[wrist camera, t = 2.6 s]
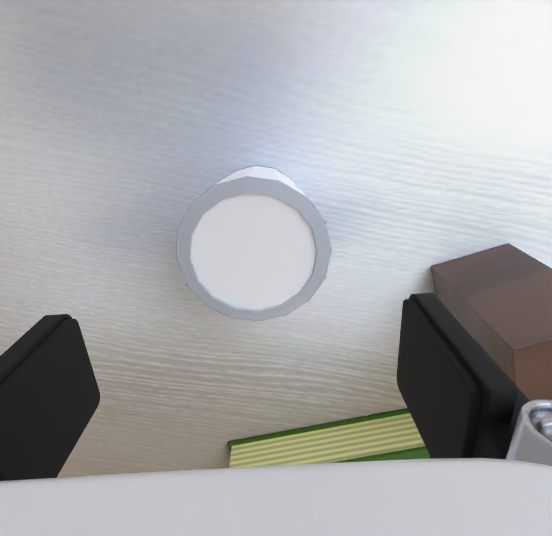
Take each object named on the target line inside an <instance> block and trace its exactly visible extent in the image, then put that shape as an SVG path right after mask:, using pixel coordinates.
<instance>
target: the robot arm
mask: <svg viewBox="0 0 552 536" xmlns="http://www.w3.org/2000/svg"><path fill="white" fill-rule="evenodd" d="M397 383H398V387H399V390H400V392H401V394H402V397H403V399H404V401H405V403H406V405H407V407H408V410H409V412H410V414H411V416H412V418H413V420H414V423H415V425H416V427H417V429H418V431H419V433H420V436H421V438H422V440H423V442H424V444H425V446H426V449H427V451H428V453H429V455H430V457H431V459H407V460H384V461H362V462H342V463H321V464H300V465H279V466H258V467H239V468H221V469H202V470H183V471H165V472H147V473H129V474H112V475H95V476H78V477H62V478H56V477H57V476H58V474H59V472H60V470H61V469H62V467H63V465H64V463H65V462H66V460H67V458H68V457H69V455H70V453H71V451H72V450H73V448H74V446H75V445H76V443H77V441H78V439H79V438H80V436H81V434H82V433H83V431H84V429H85V427H86V426H87V424H88V422H89V421H90V419H91V417H92V415H93V414H94V412H95V410H96V409H97V407H98V405H99V401H100V392H99V389H98V385H97V382H96V379H95V376H94V372H93V369H92V366H91V363H90V359H89V356H88V353H87V350H86V346H85V343H84V340H83V337H82V333H81V330H80V327H79V324H78V321H77V320H76V319H72V317H71V316H70V315H68V314H61V315H46V316H44V317H43V318H42V319H41V320H40V321H38V322H37V323H36V324H35V325H34V326H33V327H32V328H31V329H30V330H29V331H27V332H26V333H25V334H24V335H23V336H22V337H21V338H20V339H19V340H18V341H16V342H15V343H14V344H13V345H12V346H11V347H10V348H9V349H8V350H7V351H5V352H4V353H3V354H2V355H1V356H0V536H552V400H534V401H530V400H529V399H528V398H527V397H526V396H525V395H524V394H523V393H522V391H521V390H520V389H519V388H518V387H517V386H516V385H515V384H514V383H513V381H512V380H511V379H510V378H509V377H508V376H507V375H506V374H505V372H504V371H503V370H502V369H501V368H500V367H499V366H498V365H497V363H496V362H495V361H494V360H493V359H492V358H491V357H490V356H489V354H488V353H487V352H486V351H485V350H484V349H483V348H482V347H481V346H480V344H479V343H478V342H477V341H476V340H475V339H474V338H473V337H472V336H471V335H470V334H469V333H468V332H467V331H466V330H465V328H464V327H463V326H462V325H461V324H460V323H459V322H458V321H457V319H456V318H455V317H454V316H453V315H452V314H451V313H450V312H449V310H448V309H447V308H446V307H445V306H444V305H443V304H442V303H441V301H440V300H439V299H438V298H437V297H436V296H435V295H434V294H433V293H422V294H411V295H410V298H409V299H405V300H404V302H403V309H402V320H401V332H400V344H399V356H398V368H397Z"/></svg>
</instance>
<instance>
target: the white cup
mask: <svg viewBox="0 0 552 536" xmlns="http://www.w3.org/2000/svg"><path fill="white" fill-rule="evenodd" d="M330 255H331V246H330V241H329V237H328V232H327V227H326V222H325V221H324V219H323V218H322V217H321V215H320V214H319V212H318V211H317V210H316V208H315V207H314V206H313V204H312V203H311V201H310V200H309V199H308V197H307V196H306V195H305V194H304V193H303V192H302V191H301V190H300V189H299V188H298V187H297V186H296V184H295V183H294V182H293V181H292V180H291V179H290V178H288V177H287V176H285V175H283V174H282V173H280V172H278V171H277V170H275V169H273V168H266V167H259V166H252V167H249V168H245V169H241V170H237V171H235V172H234V173H232V174H231V175H229V176H228V177H226V178H225V179H223V180H222V181H220V182H218V183H217V184H215V185H214V186H213V187H212V188H210V189H209V190H208V191H207V192H205V193H204V194H203V195H202V196H200V197H199V198H198V199H197V200H195V201H194V202H193V203H191V205H190V207H189V209H188V211H187V213H186V215H185V217H184V219H183V221H182V222H181V224H180V226H179V228H178V230H177V255H176V260H177V262H178V265H179V267H180V270H181V272H182V275H183V277H184V280H185V282H186V285H187V286H188V287H189V288H190V289H191V290H192V291H193V292H194V294H195V295H196V296H197V297H198V298H199V299H200V300H201V301H202V302H203V303H204V304H205V305H206V306H208V307H210V308H212V309H214V310H216V311H218V312H220V313H222V314H224V315H226V316H228V317H230V318H235V319H244V320H252V321H263V320H267V319H272V318H276V317H280V316H285V315H288V314H289V313H291V312H292V311H294V310H295V309H297V308H298V307H300V306H301V305H303V304H304V303H306V302H307V301H309V300H310V299H311V297H312V296H313V295H314V293H315V292H316V290H317V289H318V288H319V286H320V285H321V283H322V282H323V281H324V279H325V278H326V273H327V269H328V264H329V259H330Z"/></svg>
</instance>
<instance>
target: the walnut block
mask: <svg viewBox="0 0 552 536" xmlns="http://www.w3.org/2000/svg"><path fill="white" fill-rule="evenodd" d="M431 270H432V275H433V281H434V287H435V292H436V297H437V298H438V299H439V300H440V301H441V303H442V304H443V305H444V306H445V307H446V308H447V309H448V310H449V312H450V313H451V314H452V315H453V316H454V317H455V318H456V319H457V321H458V322H459V323H460V324H461V325H462V326H463V327H464V328H465V330H466V331H467V332H468V333H469V334H470V335H471V336H472V337H473V338H474V339H475V340H476V341H477V342H478V343H479V344H480V346H481V347H482V348H483V349H484V350H485V351H486V352H487V353H488V354H489V356H490V357H491V358H492V359H493V360H494V361H495V362H496V363H497V365H498V366H499V367H500V368H501V369H502V370H503V371H504V372H505V374H506V375H507V376H508V377H509V378H510V379H511V380H512V381H513V383H514V384H515V385H516V386H517V387H518V388H519V389H520V390H521V391H522V393H523V394H524V395H525V396H526V397H527V398H528V399H529V400H530V401H534V400H552V269H551V268H550V267H548V266H546V265H545V264H543V263H541V262H539V261H538V260H536V259H534V258H533V257H531V256H529V255H528V254H526V253H524V252H522V251H521V250H519V249H517V248H516V247H514V246H512V245H511V244H505V245H502V246H498V247H495V248H491V249H488V250H485V251H481V252H478V253H474V254H471V255H468V256H464V257H461V258H457V259H454V260H451V261H447V262H444V263H440V264H437V265H434V266H431Z"/></svg>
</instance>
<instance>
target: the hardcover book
mask: <svg viewBox="0 0 552 536" xmlns="http://www.w3.org/2000/svg"><path fill="white" fill-rule="evenodd" d="M228 446H229V449H230V451H231V456H230V465H229V468H239V467H258V466H279V465H300V464H321V463H342V462H362V461H384V460H407V459H431V457H430V455H429V453H428V451H427V449H426V446H425V444H424V442H423V440H422V438H421V436H420V433H419V431H418V429H417V427H416V425H415V423H414V420H413V418H412V416H411V414H410V412H409V410H408V409H402V410H397V411H392V412H386V413H381V414H375V415H370V416H365V417H359V418H354V419H348V420H343V421H338V422H332V423H327V424H322V425H316V426H311V427H305V428H300V429H295V430H289V431H284V432H278V433H273V434H268V435H262V436H257V437H251V438H246V439H241V440H235V441H230V442H228Z"/></svg>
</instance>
